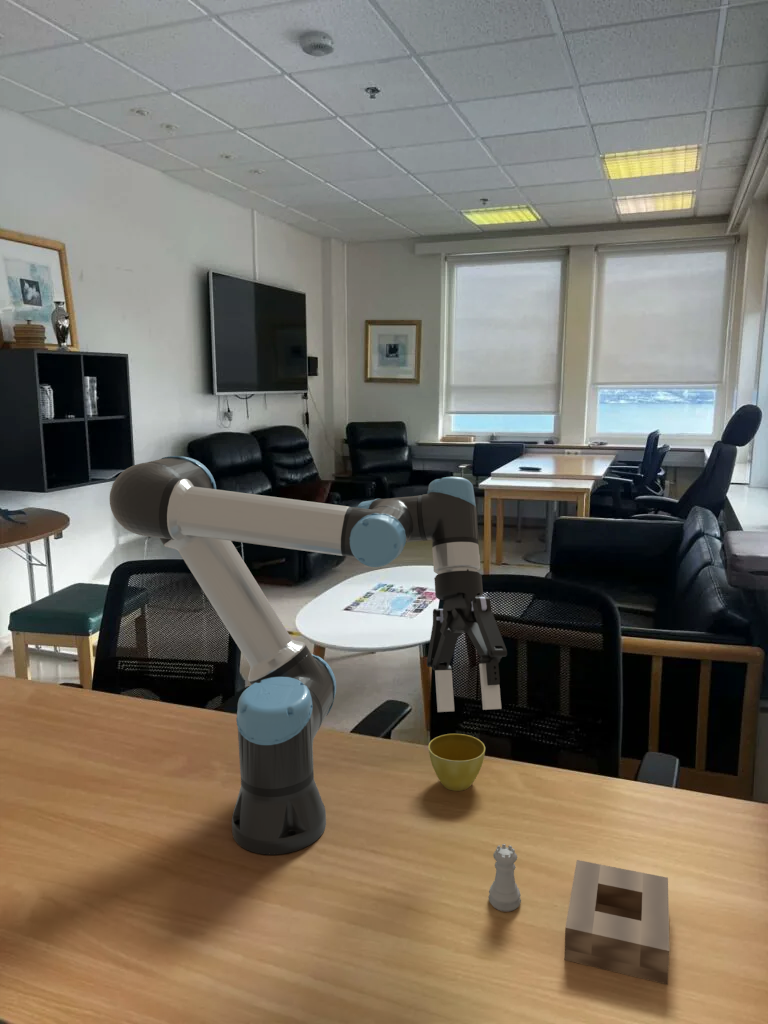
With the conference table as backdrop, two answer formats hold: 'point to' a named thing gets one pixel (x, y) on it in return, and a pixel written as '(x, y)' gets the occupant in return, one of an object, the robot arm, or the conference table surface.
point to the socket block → (619, 921)
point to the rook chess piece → (504, 881)
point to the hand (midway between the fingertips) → (467, 710)
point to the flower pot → (456, 759)
